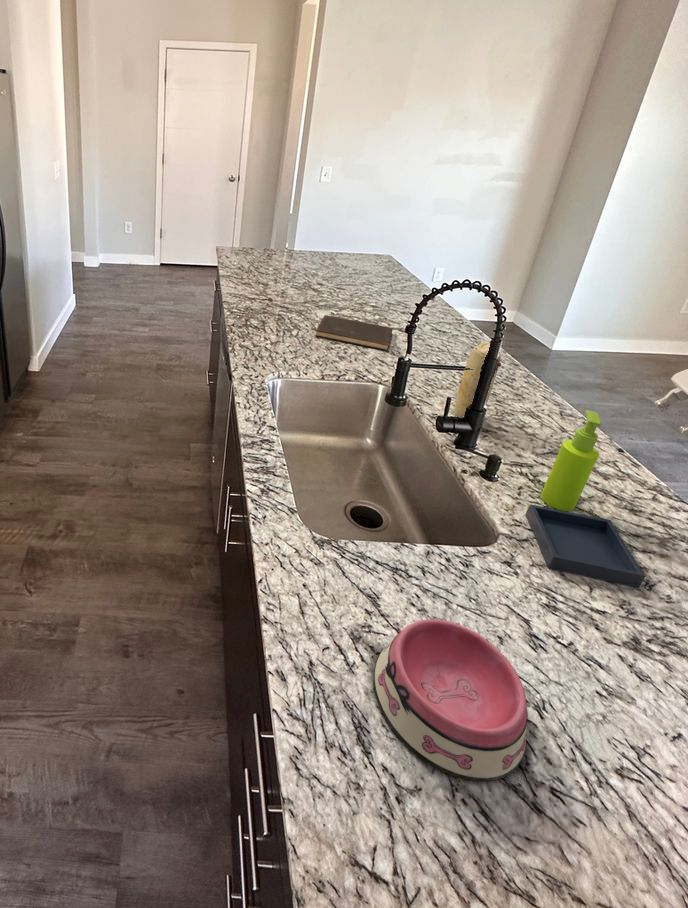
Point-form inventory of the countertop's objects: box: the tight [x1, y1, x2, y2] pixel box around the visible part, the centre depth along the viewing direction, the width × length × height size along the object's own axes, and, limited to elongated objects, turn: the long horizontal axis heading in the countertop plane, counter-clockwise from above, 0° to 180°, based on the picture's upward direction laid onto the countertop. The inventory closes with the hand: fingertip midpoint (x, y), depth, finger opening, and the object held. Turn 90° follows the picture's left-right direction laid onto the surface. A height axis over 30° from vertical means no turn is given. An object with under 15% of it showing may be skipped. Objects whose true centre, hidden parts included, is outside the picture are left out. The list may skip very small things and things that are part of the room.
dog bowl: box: [372, 618, 529, 782], centre depth 70 cm, size 18×19×7 cm
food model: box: [453, 342, 502, 418], centre depth 132 cm, size 10×7×20 cm
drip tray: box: [525, 503, 646, 589], centre depth 97 cm, size 14×14×3 cm
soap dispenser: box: [540, 409, 602, 512], centre depth 105 cm, size 6×7×20 cm
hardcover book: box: [314, 314, 394, 352], centre depth 181 cm, size 16×23×2 cm
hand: (669, 419), depth 98 cm, fingers open, 8 cm apart
